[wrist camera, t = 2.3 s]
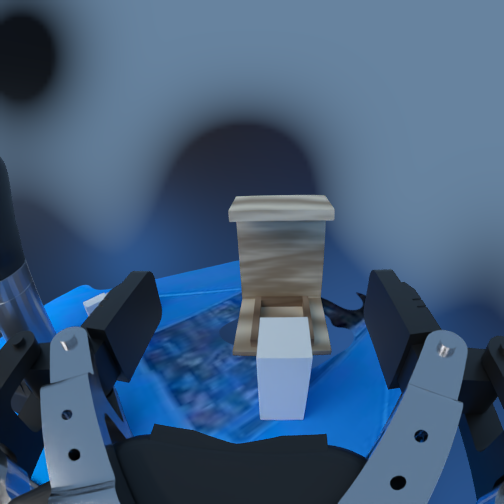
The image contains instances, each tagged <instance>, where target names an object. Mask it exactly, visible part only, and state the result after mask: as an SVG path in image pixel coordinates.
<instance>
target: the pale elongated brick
mask: <svg viewBox="0 0 504 504" xmlns="http://www.w3.org/2000/svg"><path fill="white" fill-rule="evenodd" d="M312 359H313V356H312V348H311V339H310V331H309V324H308V317H267V318H263V317H260V324H259V335H258V346H257V356H256V361H257V377H258V393H259V410H260V420H303V419H304V413H305V407H306V401H307V394H308V388H309V381H310V374H311V367H312Z"/></svg>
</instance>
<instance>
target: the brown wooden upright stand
mask: <svg viewBox="0 0 504 504" xmlns="http://www.w3.org/2000/svg"><path fill="white" fill-rule="evenodd" d="M334 211H335V210H334V208H333V206H332V205H331V204H330V202H329V201H328V199H327V198H326V196H325V195H281V196H280V195H278V196H277V195H274V196H240V197H236V198H235V200H234V202H233V204H232V205H231V207H230V209H229V212H228V213H229V222H237V233H238V247H239V260H240V273H241V286H242V298H243V299H242V304H241V310H240V315H239V321H238V326H237V331H236V337H235V342H234V347H233V355H243V356H257V346H258V335H259V324H260V317H263V318H267V317H308V324H309V331H310V339H311V348H312V355H328V354H331V345H330V340H329V335H328V330H327V326H326V321H325V316H324V311H323V307H322V302H321V287H322V274H323V260H324V244H325V223H326V220H334Z"/></svg>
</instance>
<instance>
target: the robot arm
mask: <svg viewBox="0 0 504 504" xmlns="http://www.w3.org/2000/svg"><path fill="white" fill-rule="evenodd" d="M98 305H99V306H97V307H96V308H95V309H94V311H93V312H92V313H91V314H90V315H89V317H88V318H87V319H86V320H85V322H84V323H83V324H82V325H81V327H69V328H66V329H64V330H62V331H60V332H59V333H57V334H56V332H55V330H54V328H53V326H52V324H51V321H50V319H49V317H48V315H47V313H46V311H45V308H44V306H43V304H42V301H41V299H40V297H39V294H38V292H37V289H36V287H35V284H34V282H33V279H32V276H31V274H30V271H29V268H28V265H27V262H26V259H25V256H24V253H23V250H22V245H21V240H20V236H19V232H18V228H17V224H16V219H15V215H14V209H13V203H12V196H11V189H10V183H9V177H8V172H7V169H6V166H5V163H4V161H3V160H2V159H1V157H0V331H1V333H2V335H3V337H4V338H5V340H6V344H5V345H4V346H3V347H2V349H1V350H0V504H427V503H428V501H429V499H430V497H431V495H432V493H433V491H434V489H435V486H436V484H437V482H438V479H439V477H440V475H441V472H442V470H443V467H444V465H445V463H446V460H447V457H448V454H449V452H450V449H451V446H452V443H453V440H454V437H455V434H456V431H457V427H458V426H459V429H460V432H461V436H462V439H463V442H464V446H465V449H466V453H467V457H468V461H469V465H470V469H471V473H472V477H473V482H474V487H475V492H476V498H477V502H476V504H504V431H503V428H502V426H501V423H500V421H499V418H498V415H497V413H496V411H495V408H494V406H493V402H494V401H495V400H496V398H497V397H499V400H500V402H501V404H502V406H503V409H504V337H503V336H496V337H494V338H492V339H491V340H490V341H489V343H488V345H487V347H486V349H475V348H467V345H466V343H465V342H464V340H463V339H462V338H461V337H460V336H458V335H457V334H455V333H453V332H450V331H445V330H441V328H440V326H439V325H438V323H437V322H436V320H435V319H434V317H433V316H432V314H431V313H430V311H429V310H428V308H427V307H426V305H425V304H424V302H423V301H422V300H421V298H420V296H419V295H418V293H417V292H416V290H415V289H413V288H412V287H411V286H409V285H408V284H407V283H405V282H400V280H399V279H398V277H397V276H396V274H395V273H394V271H393V270H391V269H390V270H372V271H371V273H370V277H369V284H368V289H367V295H366V300H365V305H364V320H365V324H366V326H367V329H368V332H369V334H370V337H371V340H372V343H373V345H374V348H375V351H376V354H377V357H378V360H379V363H380V366H381V369H382V372H383V375H384V378H385V381H386V384H387V387H388V389H394V388H400V389H401V392H402V393H401V395H400V397H399V399H398V401H397V403H396V405H395V407H394V409H393V411H392V413H391V415H390V417H389V419H388V420H387V422H386V424H385V426H384V428H383V430H382V431H381V433H380V435H379V436H378V438H377V440H376V441H375V443H374V445H373V446H372V448H371V449H370V451H369V453H368V454H367V456H366V457H363V456H361V455H359V454H357V453H355V452H353V451H350V450H347V449H345V448H341V447H337V446H332V445H327V434H318V435H297V436H279V437H275V438H270V439H264V440H259V441H253V442H247V443H241V444H234V443H230V442H226V441H223V440H220V439H217V438H214V437H211V436H208V435H205V434H202V433H200V432H197V431H194V430H188V429H182V428H175V427H169V426H164V425H158V424H154V427H153V430H152V432H151V434H147V435H139V436H135V437H134V436H133V435H132V433H131V431H130V428H129V426H128V423H127V420H126V418H125V415H124V412H123V409H122V406H121V403H120V400H119V397H118V393H117V390H116V388H115V387H114V384H115V382H116V380H118V381H123V382H128V383H129V382H130V380H131V378H132V376H133V374H134V372H135V370H136V367H137V365H138V363H139V361H140V359H141V358H142V356H143V354H144V352H145V350H146V348H147V346H148V344H149V342H150V340H151V338H152V336H153V334H154V332H155V330H156V328H157V326H158V325H159V323H160V320H161V316H162V307H161V302H160V299H159V295H158V291H157V287H156V282H155V278H154V275H153V273H151V272H150V271H149V272H148V271H133V272H131V273H130V274H129V275H128V276H127V278H126V279H125V280H124V281H123V282H122V283H121V284H119V285H118V286H116V287H115V288H113V289H112V290H110V291H109V293H108V294H107V295H106V296H105V297H104V300H102V301H101V302H100V303H99V304H98ZM22 380H24V381H25V383H26V384H27V385H28V387H29V388H30V390H31V391H32V392H31V394H30V395H29V397H28V399H27V401H26V402H25V404H24V406H23V407H22V409H21V411H20V413H19V414H18V416H17V414H16V413H15V412H14V411H13V409H12V407H11V399H12V396H13V395H14V393H15V391H16V390H17V388H18V387H19V385H20V384H21V382H22ZM43 448H44V449H45V456H46V462H47V468H48V474H49V479H50V481H48V482H46V483H44V484H42V485H40V486H38V487H36V488H34V487H32V486H31V485H30V479H31V476H32V474H33V471H34V469H35V466H36V464H37V461H38V459H39V457H40V454H41V452H42V450H43Z"/></svg>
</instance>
